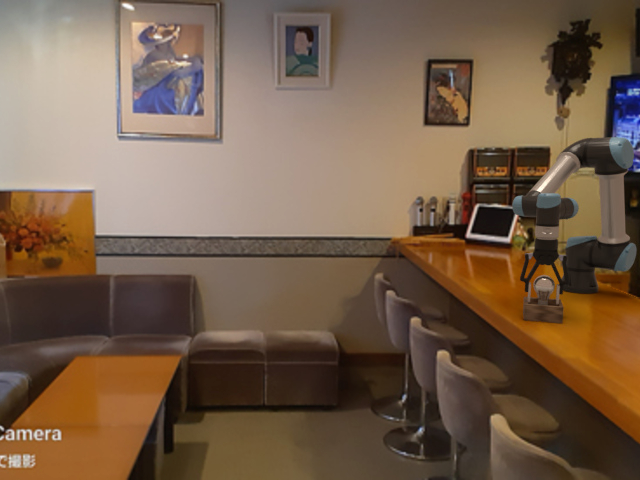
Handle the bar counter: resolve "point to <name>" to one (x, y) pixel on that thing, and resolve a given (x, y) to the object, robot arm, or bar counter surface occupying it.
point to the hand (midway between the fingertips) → (542, 302)
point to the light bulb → (543, 288)
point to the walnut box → (543, 311)
